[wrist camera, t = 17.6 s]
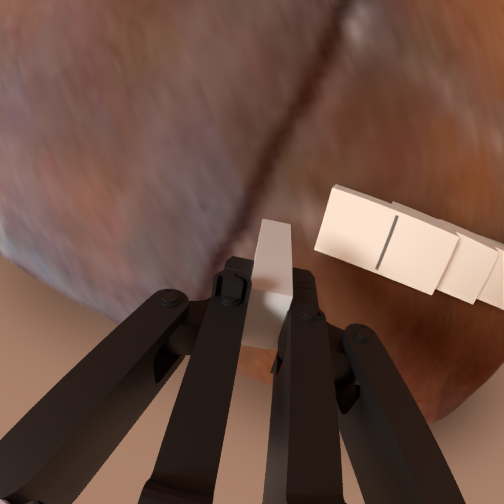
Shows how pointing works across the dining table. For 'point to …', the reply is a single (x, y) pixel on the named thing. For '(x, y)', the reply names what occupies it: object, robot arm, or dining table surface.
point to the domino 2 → (464, 263)
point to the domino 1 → (385, 239)
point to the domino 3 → (492, 276)
